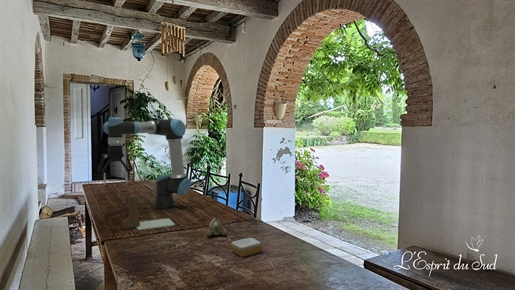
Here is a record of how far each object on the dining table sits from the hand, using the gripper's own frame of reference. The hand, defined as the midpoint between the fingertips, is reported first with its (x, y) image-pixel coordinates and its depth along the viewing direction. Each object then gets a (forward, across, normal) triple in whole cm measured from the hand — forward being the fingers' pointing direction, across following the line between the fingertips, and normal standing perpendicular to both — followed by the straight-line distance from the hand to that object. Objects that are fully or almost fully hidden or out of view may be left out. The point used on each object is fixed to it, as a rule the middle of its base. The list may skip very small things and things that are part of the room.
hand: (115, 183), depth 184 cm
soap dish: (+27, +51, -64) cm, 86 cm away
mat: (+26, +21, 0) cm, 34 cm away
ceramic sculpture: (+26, +48, -33) cm, 64 cm away
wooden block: (+26, +8, 0) cm, 27 cm away
